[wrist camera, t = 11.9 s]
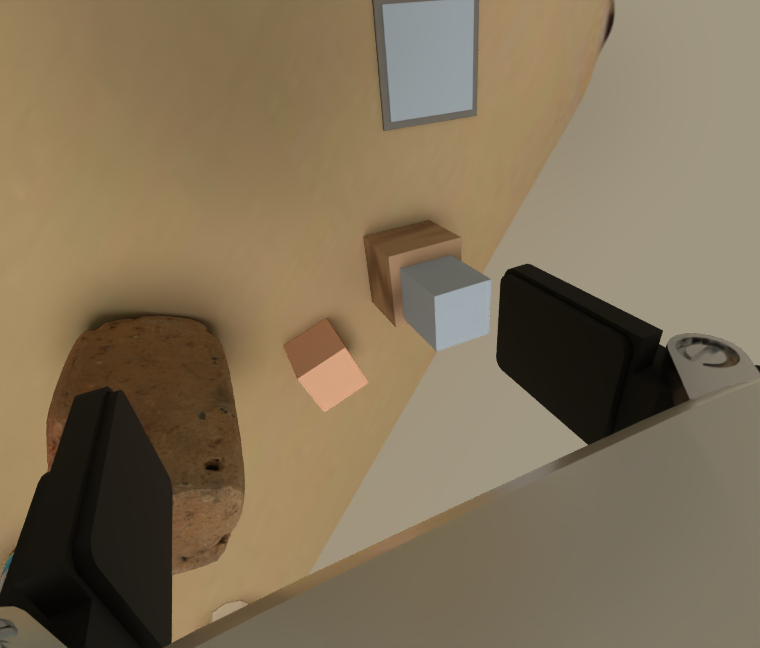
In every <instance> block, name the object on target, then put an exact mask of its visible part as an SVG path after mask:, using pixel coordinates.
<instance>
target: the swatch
mask: <svg viewBox="0 0 760 648" xmlns="http://www.w3.org/2000/svg"><path fill="white" fill-rule="evenodd" d="M372 1H373V12H374V24H375V36H376V48H377V60H378V71H379V83H380V95H381V107H382V118H383V130H384V131H386V130H392V129H398V128H404V127H410V126H416V125H422V124H428V123H435V122H441V121H447V120H453V119H459V118H465V117H471V116H477V74H478V23H479V0H372Z"/></svg>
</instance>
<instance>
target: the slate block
mask: <svg viewBox="0 0 760 648" xmlns="http://www.w3.org/2000/svg"><path fill="white" fill-rule="evenodd" d="M400 277H401V289H402V301H403V313H404V319H405V320H406V321H407V322H408V323H409V324H410V325H411V326H412V327H413V328H414V329H415V330H416V331H417V332H418V333H419V334H420V335H421V336H422V337H423V338H424V339H425V340H426V341H427V342H428V343H429V344H430V345H431V346H432V347H433V348H434V349H435V351H436V352H437V351H440V350H442V349H445V348H448V347H451V346H454V345H457V344H460V343H463V342H466V341H468V340H471V339H474V338H477V337H480V336H483V335H486V334H489V323H490V298H491V279H490V278H488V277H486V276H485V275H483V274H481V273H480V272H478V271H477V270H475V269H473V268H472V267H470V266H468V265H467V264H465V263H463V262H462V261H460V260H458V259H457V258H455V257H453V256H452V255H448V256H444V257H441V258H437V259H433V260H430V261H426V262H423V263H419V264H415V265H412V266H408V267H404V268H401V269H400Z"/></svg>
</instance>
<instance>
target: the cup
mask: <svg viewBox="0 0 760 648" xmlns="http://www.w3.org/2000/svg"><path fill="white" fill-rule="evenodd" d="M247 605H249V604H247V603H245V602H243V601H241V600H240V601H235V602H230V603H225V604H224V605H223V606H221V607H220V608H218V609H217V610H216V611H214V612H213V613H212V616H211V620H210V623H212V622H214V621H216V620H218V619H220V618H222V617H224V616H226V615H228V614H230V613H232V612H234V611H236V610H238V609H240V608H242V607H245V606H247Z"/></svg>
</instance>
